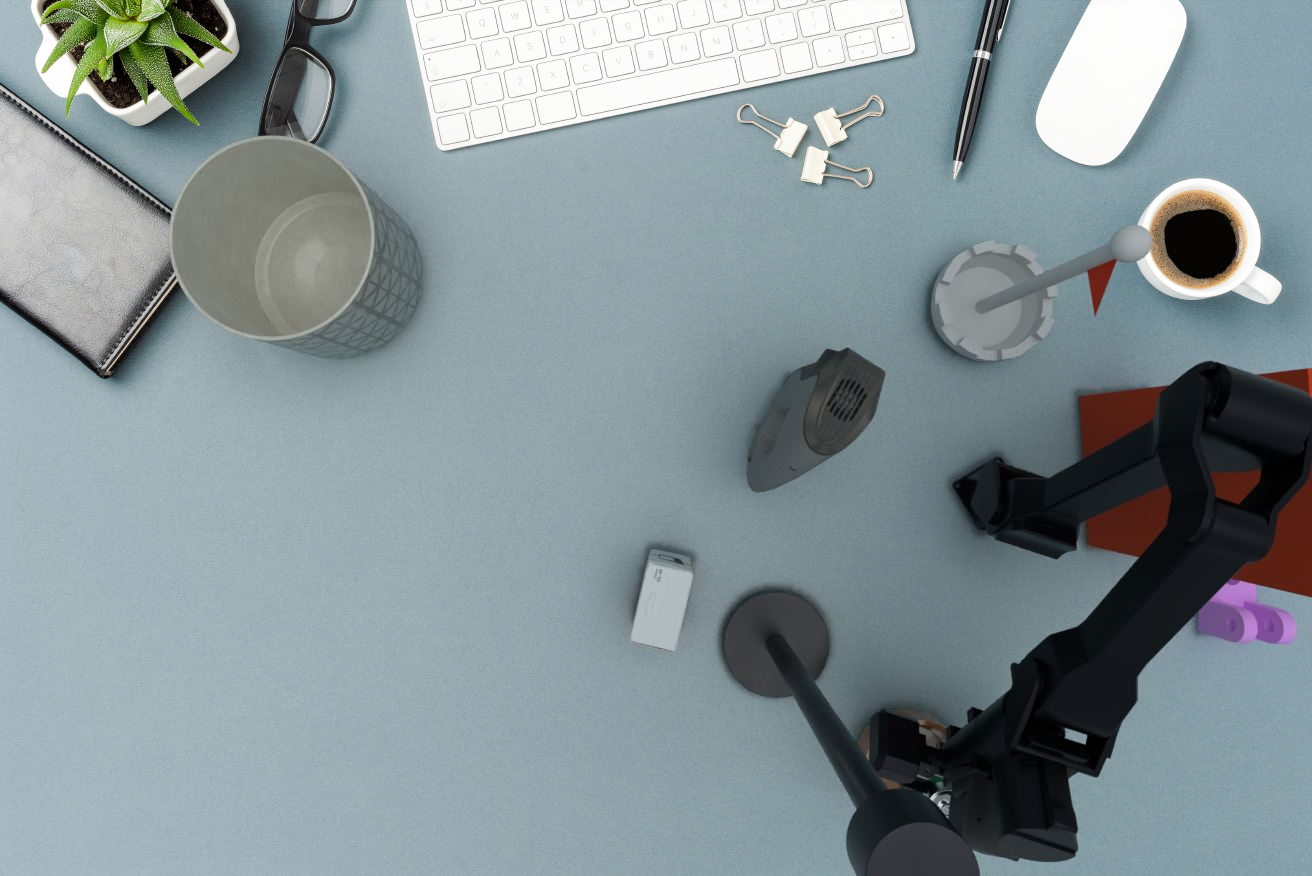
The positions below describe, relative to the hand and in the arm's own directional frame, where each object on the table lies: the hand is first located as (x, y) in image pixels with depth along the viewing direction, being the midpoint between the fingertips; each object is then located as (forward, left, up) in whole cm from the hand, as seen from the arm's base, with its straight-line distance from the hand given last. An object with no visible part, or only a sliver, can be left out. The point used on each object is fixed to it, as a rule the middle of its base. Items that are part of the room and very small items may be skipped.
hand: (924, 798), depth 81 cm
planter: (-81, -26, -8) cm, 85 cm away
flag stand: (-41, +35, -8) cm, 54 cm away
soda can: (-1, +1, -7) cm, 7 cm away
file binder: (-17, +39, -8) cm, 43 cm away
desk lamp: (-20, -5, -8) cm, 22 cm away
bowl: (-1, +1, -8) cm, 8 cm away
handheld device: (-40, +9, -8) cm, 42 cm away
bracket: (0, +43, -8) cm, 44 cm away
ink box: (-32, -13, -8) cm, 35 cm away
